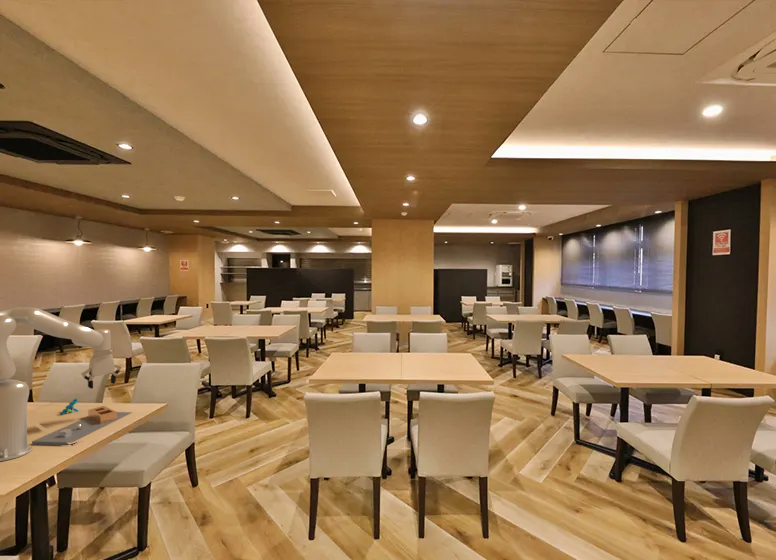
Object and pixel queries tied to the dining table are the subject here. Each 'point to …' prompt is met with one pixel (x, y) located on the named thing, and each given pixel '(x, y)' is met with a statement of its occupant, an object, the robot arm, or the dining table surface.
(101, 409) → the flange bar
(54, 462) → the dining table surface
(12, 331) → the robot arm
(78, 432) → the board
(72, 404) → the blue branched piece
